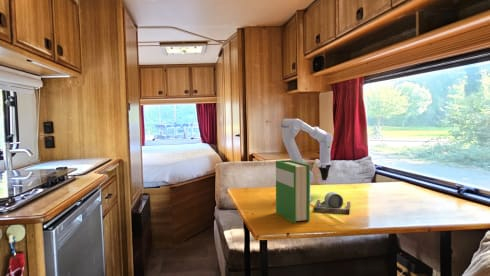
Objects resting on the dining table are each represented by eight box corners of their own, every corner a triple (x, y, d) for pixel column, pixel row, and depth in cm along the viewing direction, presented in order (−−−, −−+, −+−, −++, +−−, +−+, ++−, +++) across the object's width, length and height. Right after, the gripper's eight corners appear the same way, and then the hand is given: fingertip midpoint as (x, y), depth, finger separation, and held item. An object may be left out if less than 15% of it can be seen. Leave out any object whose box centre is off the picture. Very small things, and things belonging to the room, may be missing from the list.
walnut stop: (313, 211, 168) (313, 207, 168) (317, 203, 182) (317, 200, 182) (349, 214, 163) (349, 209, 163) (350, 206, 178) (350, 201, 178)
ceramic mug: (338, 205, 179) (337, 190, 179) (343, 209, 171) (343, 193, 170) (316, 206, 178) (316, 191, 178) (321, 210, 170) (321, 194, 170)
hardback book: (309, 221, 153) (309, 164, 151) (293, 223, 150) (293, 165, 149) (290, 211, 169) (290, 160, 168) (276, 212, 167) (275, 160, 165)
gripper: (331, 156, 191) (331, 181, 192) (333, 153, 205) (333, 177, 206) (317, 155, 193) (317, 181, 194) (320, 152, 207) (320, 176, 208)
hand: (324, 178), depth 200 cm, fingers open, 7 cm apart
